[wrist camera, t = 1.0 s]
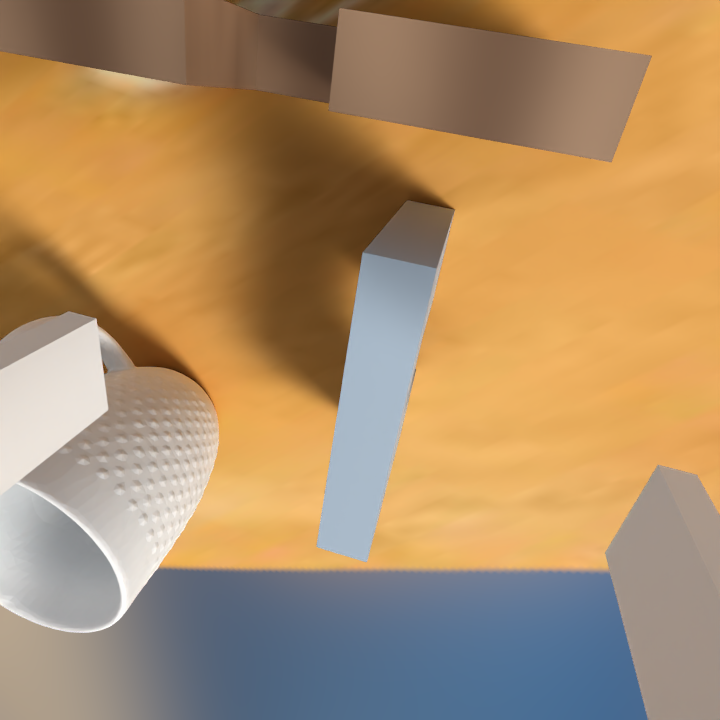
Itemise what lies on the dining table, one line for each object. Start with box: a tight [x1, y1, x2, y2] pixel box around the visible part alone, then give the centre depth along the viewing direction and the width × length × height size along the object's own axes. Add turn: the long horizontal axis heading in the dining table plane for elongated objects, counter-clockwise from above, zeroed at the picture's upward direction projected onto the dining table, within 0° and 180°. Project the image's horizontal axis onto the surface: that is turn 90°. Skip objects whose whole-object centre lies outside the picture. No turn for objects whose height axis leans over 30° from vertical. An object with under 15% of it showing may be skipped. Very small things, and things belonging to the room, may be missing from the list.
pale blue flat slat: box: [317, 200, 455, 562], centre depth 23 cm, size 14×2×10 cm, turn 171°
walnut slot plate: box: [0, 0, 652, 162], centre depth 18 cm, size 20×2×10 cm, turn 81°
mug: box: [0, 316, 219, 633], centre depth 28 cm, size 15×11×13 cm
